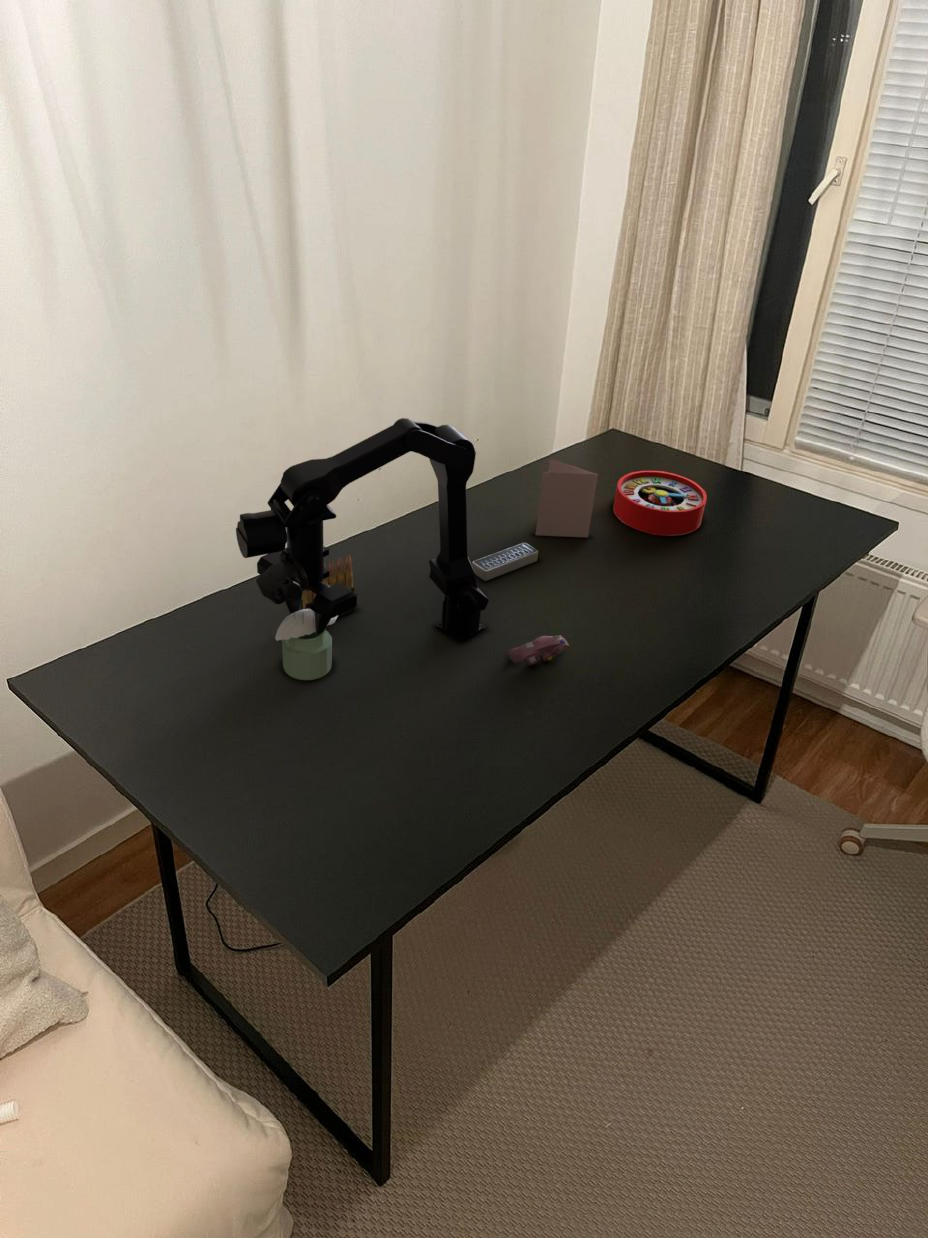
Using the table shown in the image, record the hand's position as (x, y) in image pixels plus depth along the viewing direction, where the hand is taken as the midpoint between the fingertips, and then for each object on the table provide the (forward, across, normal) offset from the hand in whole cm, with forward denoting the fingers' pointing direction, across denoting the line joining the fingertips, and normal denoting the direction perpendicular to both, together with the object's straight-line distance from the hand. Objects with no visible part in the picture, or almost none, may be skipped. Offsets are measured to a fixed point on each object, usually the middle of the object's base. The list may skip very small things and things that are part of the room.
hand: (307, 624), depth 167 cm
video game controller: (+9, +26, +31) cm, 41 cm away
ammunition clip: (+9, -9, +12) cm, 17 cm away
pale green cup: (+8, 0, 0) cm, 9 cm away
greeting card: (+9, 0, +70) cm, 70 cm away
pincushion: (+1, 0, 0) cm, 1 cm away
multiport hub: (+9, +1, +51) cm, 52 cm away
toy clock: (+9, +9, +95) cm, 96 cm away
